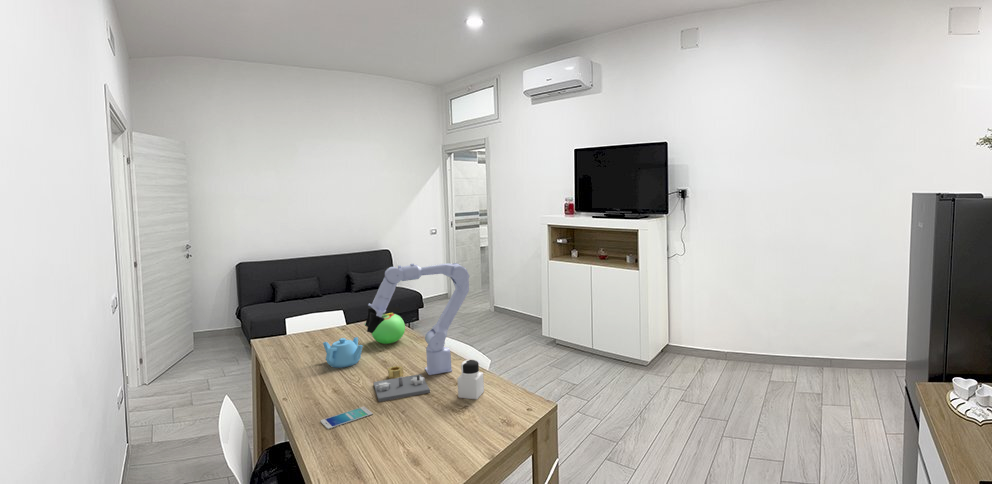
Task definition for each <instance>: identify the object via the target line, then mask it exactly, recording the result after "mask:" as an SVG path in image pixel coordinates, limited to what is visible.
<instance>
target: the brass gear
mask: <svg viewBox="0 0 992 484" xmlns="http://www.w3.org/2000/svg"><path fill="white" fill-rule="evenodd" d="M387 377H388V378H389V379H395V378H399V377H404V369H403V366H401V365H396V366H390V367H388V368H387Z"/></svg>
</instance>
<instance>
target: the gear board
mask: <svg viewBox="0 0 992 484" xmlns="http://www.w3.org/2000/svg"><path fill="white" fill-rule="evenodd" d="M373 387H374V390H375V394H376V397H377V400H378V403H380V402H385V401H391V400H396V399H397V400H398V399H401V398H408V397H413V396H418V395H423V394H425V395H426V394H429V393H431V389H430V387H429V385H428V383H427V382H426V378H425V377H423V375H422V374H420V373H419V374H413V375H408V376H402V377H399V378H395V379H390V378H389V379H384V380H383V379H382V380H377V381H373Z"/></svg>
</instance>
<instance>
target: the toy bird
mask: <svg viewBox="0 0 992 484" xmlns="http://www.w3.org/2000/svg"><path fill="white" fill-rule="evenodd" d="M382 317H383V318H384V321H382V322H381V323H380V324H379V325H378V326H377V328H376V329H375V331H374V332H373V333H370V334H371V336H372V338H373V339H374V341H375V342H378V343H380V344H382V345H388V344H393V343H396V342H397V341H399V340H401V339H402V337H403V336H404V334H405V330H406V324H405V322H404V320H403V318H402V316H400V315H398V314H396V313H394V312H389V313H383V315H382ZM365 324H366V322H365V323H364V326H365Z"/></svg>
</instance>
